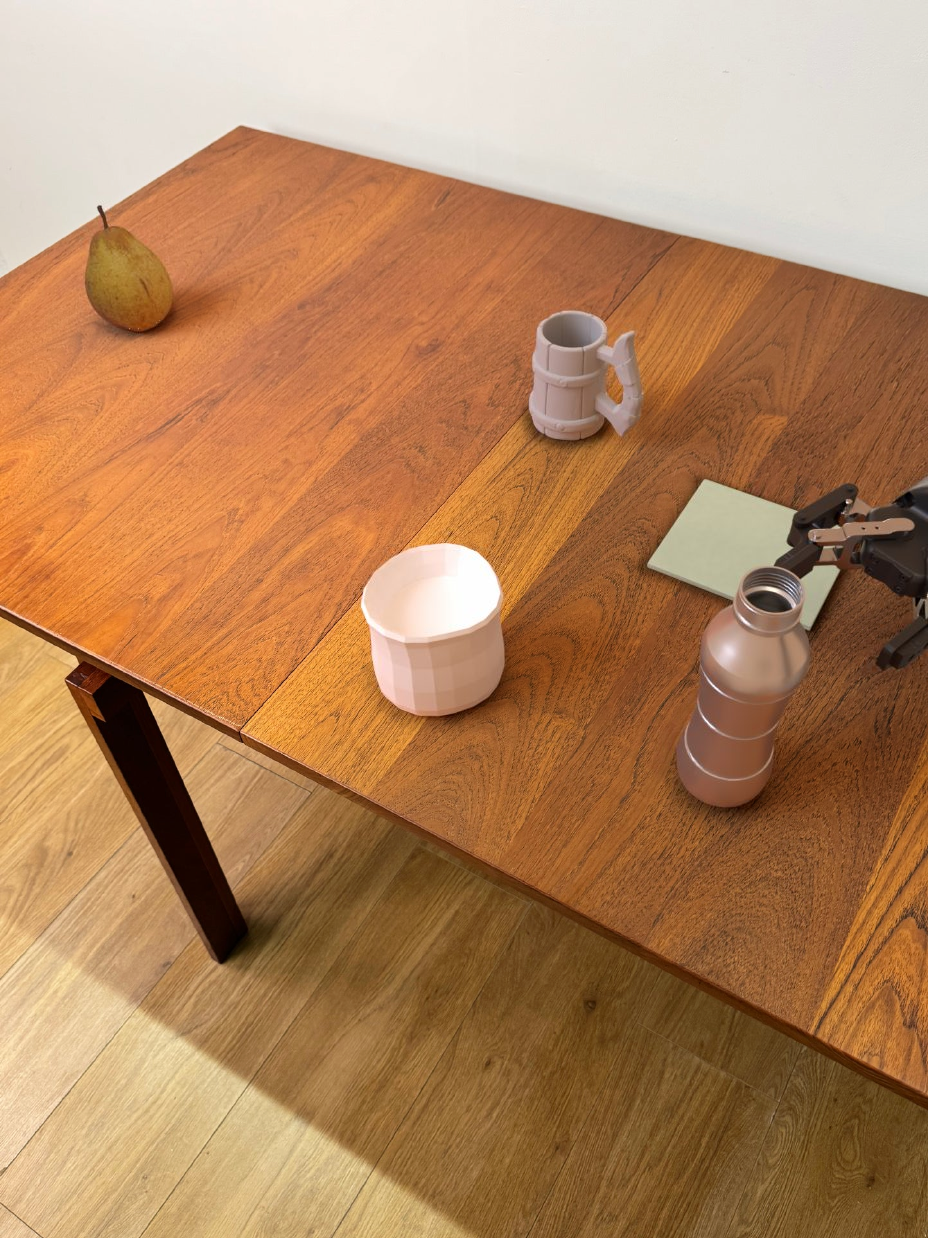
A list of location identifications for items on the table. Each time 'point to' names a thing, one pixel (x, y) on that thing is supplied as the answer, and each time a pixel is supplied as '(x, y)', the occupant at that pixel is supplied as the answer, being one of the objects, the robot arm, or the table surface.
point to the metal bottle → (744, 688)
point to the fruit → (126, 280)
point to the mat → (734, 545)
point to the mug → (582, 378)
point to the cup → (435, 629)
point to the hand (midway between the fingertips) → (827, 619)
